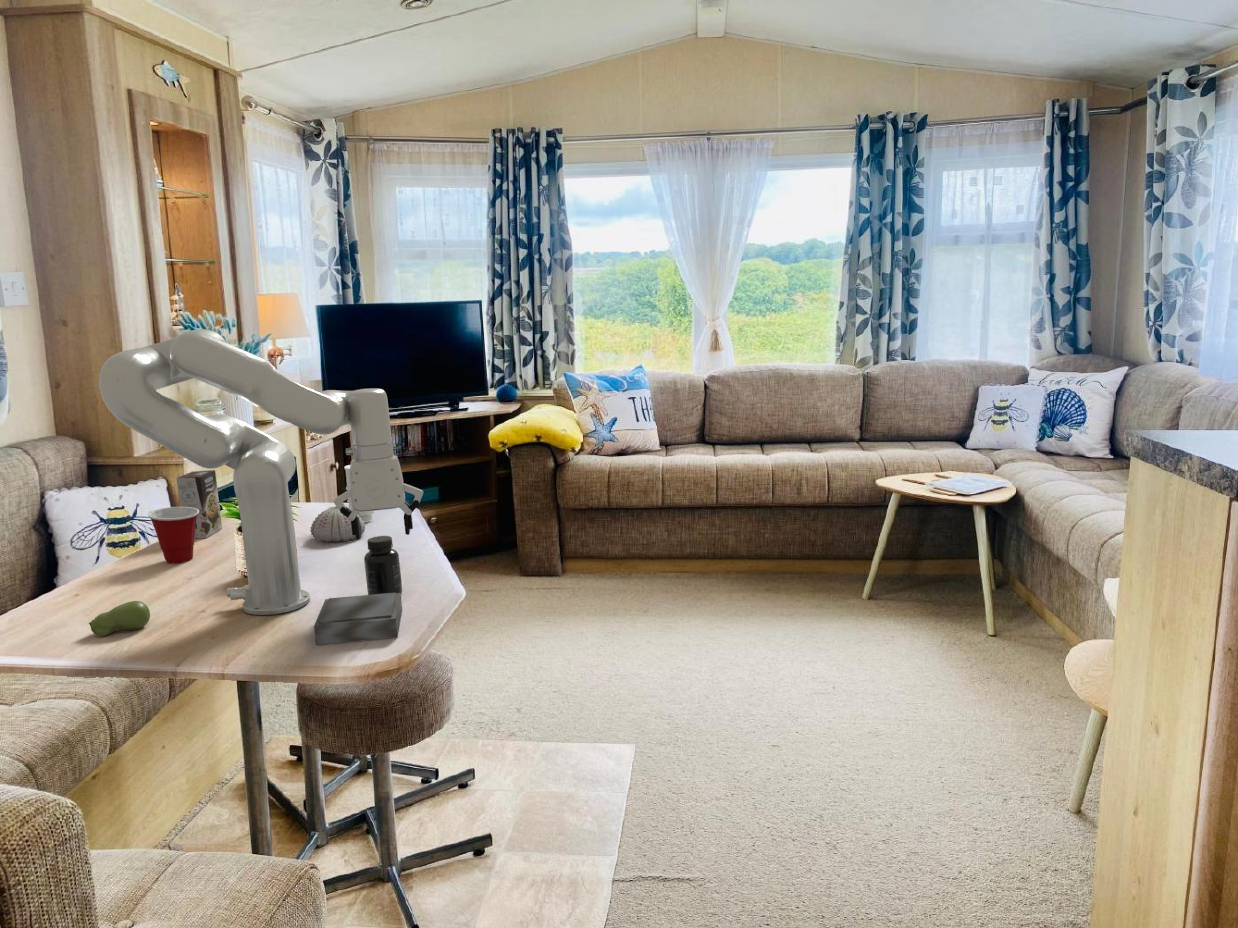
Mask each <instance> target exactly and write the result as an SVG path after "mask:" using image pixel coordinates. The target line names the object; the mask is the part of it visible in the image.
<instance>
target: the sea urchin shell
mask: <svg viewBox="0 0 1238 928" xmlns="http://www.w3.org/2000/svg"><path fill="white" fill-rule="evenodd" d="M348 508H349V507H348ZM349 509H350V508H349ZM350 510H351V509H350ZM351 511H352V510H351ZM357 516H358V518H359V520H360V529H361V536H362V535H363V534H364V533H365V530H366V523H364V521H363V520H362V519H361V517H360V516H359V515H357ZM309 528H310V532H311V533H310V535H311V536H312V538H315V540H319V541H323V542H335V543H336V542H341V541H342V542H347V541H352V540H356V535H352V528H351V521H350V520H349V519H348V518H347V517H346V516H344V515H343V514H342V513H341V512H340V510H339V509H338V508H337V506H336V505H335V506H330V507H328V508H327V509H325V510H323V511H321V513H318V514H317V516H316V517H314V520H313V521H312V523H311V526H310V527H309Z"/></svg>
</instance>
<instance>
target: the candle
mask: <svg viewBox="0 0 1238 928" xmlns="http://www.w3.org/2000/svg"><path fill="white" fill-rule="evenodd" d="M344 470H345V477H346V487H345V490H346V491H348V490H349V489H351V487H350V464H348V465H345V466H344ZM346 500H347V503H348V508H350V509H351V510H353V506H352V500H351V497H350V498H348V499H346ZM375 511H376V510H374V511H360V512H359V513H358V515H359V516H360V517H361V519H362V520H363V521H364V522H367V523H369V522H368V521H370V520H373V519H374V518H373V516H372V515H373V514H374V513H375ZM373 521H374V520H373ZM370 522H371V521H370Z"/></svg>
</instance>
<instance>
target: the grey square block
mask: <svg viewBox="0 0 1238 928" xmlns="http://www.w3.org/2000/svg"><path fill="white" fill-rule="evenodd" d="M402 602H403V601H402V593H386V594H374V595H368V594H365V595H354V596H353V595H351V596H343V597H341V596H339V597H331V598H325V599H324V602H323V604H322V606H321V608H320V611H319V613H318V615H317V618H316V620H315V623H314V625H313V627H314V628H313V629H314V639H315V646H321V645H333V644H343V643H355V642H363V641H365V642H366V641H375V640H386V639H387V640H388V639H397V638H399V632H400V626H401V619H402V615H403V604H402Z"/></svg>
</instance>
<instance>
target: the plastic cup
mask: <svg viewBox="0 0 1238 928" xmlns="http://www.w3.org/2000/svg"><path fill="white" fill-rule="evenodd" d="M198 514H199V510H198V509H196V508H192V507H180V506H170V507H164V508H163V507H161V508H158V509H155V510H152V511H150V512H148V518H150V521H151V523H152V525H153V528H154V531H155V534H156V538H157V540H158V544H159V546H160V550H161V552H162V555H163V557H164V561H165V562H166V564H172V565H173V564H181V563H182V564H183V563H186V562H189V561H191V560H193V557H194V546H195V538H194V536H195V524H196V520H197V516H198Z"/></svg>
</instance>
